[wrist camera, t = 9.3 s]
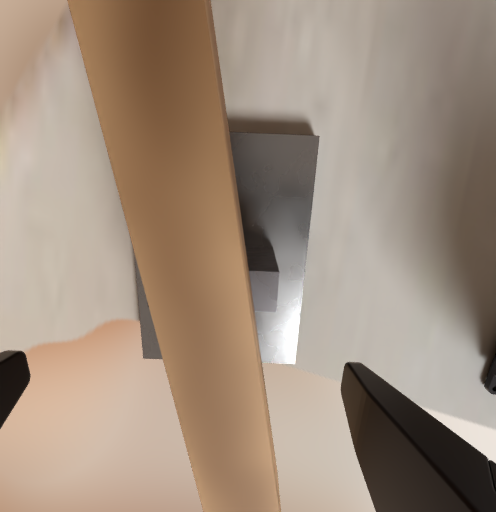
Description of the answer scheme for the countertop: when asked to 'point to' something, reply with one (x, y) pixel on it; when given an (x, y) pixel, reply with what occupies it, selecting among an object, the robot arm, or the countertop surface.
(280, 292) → the ridge stand
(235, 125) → the countertop surface
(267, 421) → the oak rod
